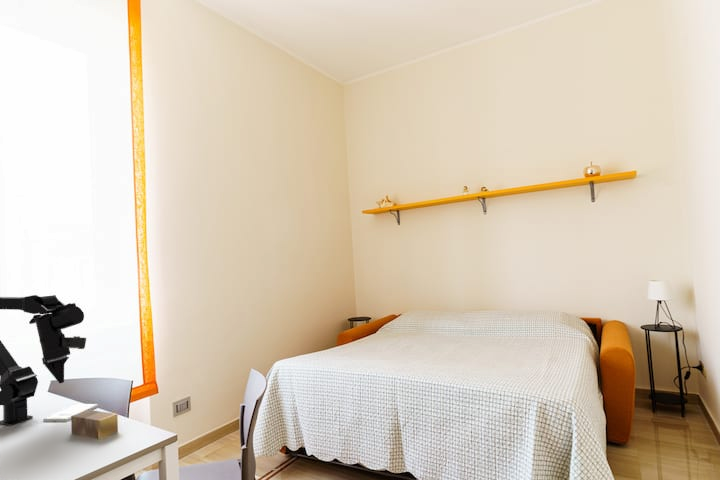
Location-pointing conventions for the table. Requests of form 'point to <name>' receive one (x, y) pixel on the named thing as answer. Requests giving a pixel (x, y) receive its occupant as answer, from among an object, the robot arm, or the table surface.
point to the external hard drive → (70, 412)
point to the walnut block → (94, 424)
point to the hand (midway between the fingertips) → (61, 383)
